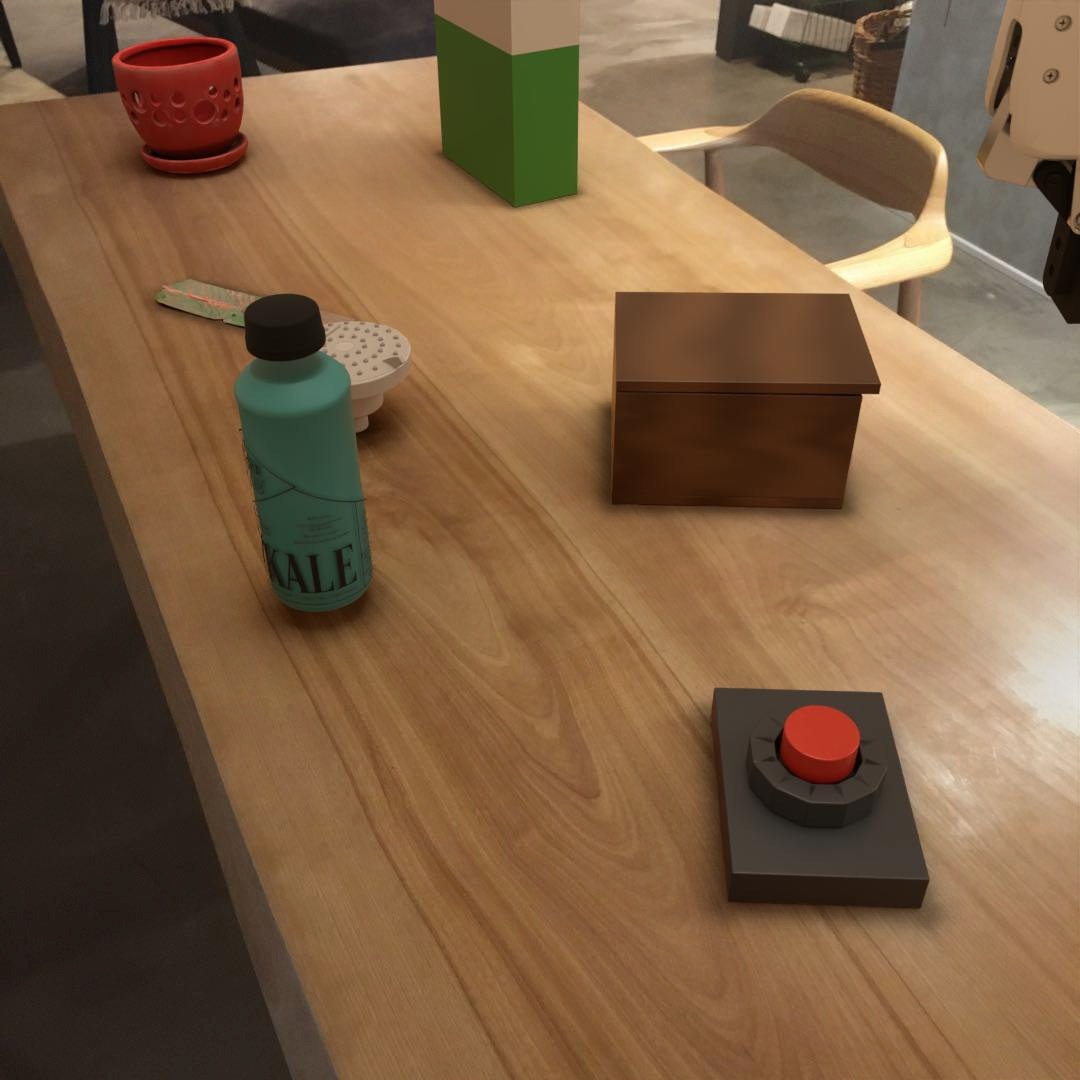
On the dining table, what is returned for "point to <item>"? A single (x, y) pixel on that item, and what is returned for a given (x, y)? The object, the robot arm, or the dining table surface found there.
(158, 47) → the plant pot
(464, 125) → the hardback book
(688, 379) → the chest lid
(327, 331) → the showerhead
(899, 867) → the control block
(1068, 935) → the dining table surface
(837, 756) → the button
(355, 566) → the beverage bottle
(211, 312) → the map
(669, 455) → the chest
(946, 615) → the dining table surface
